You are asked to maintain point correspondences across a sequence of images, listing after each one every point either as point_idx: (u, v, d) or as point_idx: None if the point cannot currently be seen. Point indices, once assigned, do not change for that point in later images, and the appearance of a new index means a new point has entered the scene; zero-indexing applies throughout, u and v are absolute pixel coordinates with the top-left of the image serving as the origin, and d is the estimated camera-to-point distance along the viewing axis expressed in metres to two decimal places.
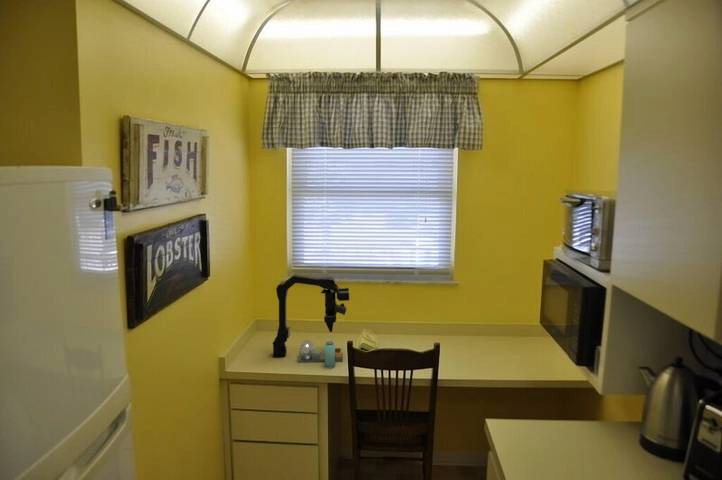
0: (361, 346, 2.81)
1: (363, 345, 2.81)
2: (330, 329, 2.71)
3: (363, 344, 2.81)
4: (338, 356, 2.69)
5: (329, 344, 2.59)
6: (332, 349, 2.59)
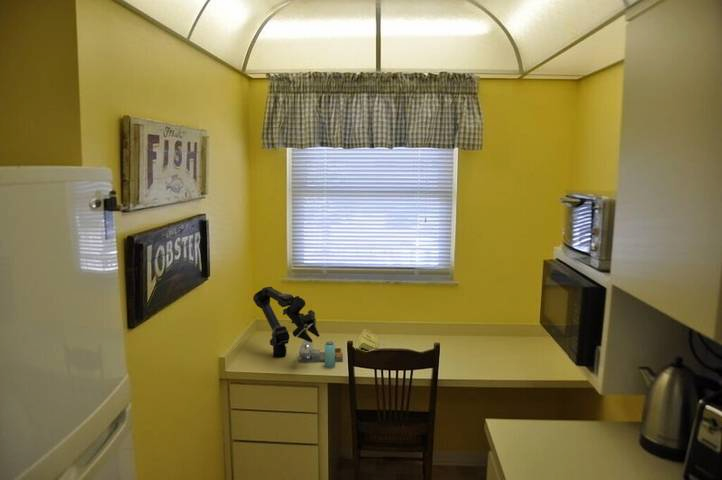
0: (361, 346, 2.81)
1: (363, 345, 2.81)
2: (309, 340, 2.58)
3: (363, 344, 2.81)
4: (338, 356, 2.69)
5: (329, 344, 2.59)
6: (332, 349, 2.59)
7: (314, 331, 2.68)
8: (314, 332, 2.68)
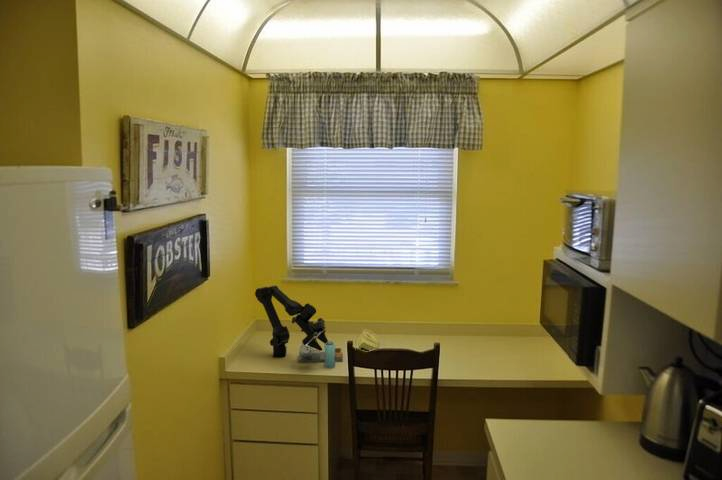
0: (361, 346, 2.82)
1: (363, 345, 2.81)
2: (319, 348, 2.57)
3: (363, 344, 2.81)
4: (338, 356, 2.69)
5: (329, 344, 2.59)
6: (332, 349, 2.59)
7: (324, 339, 2.66)
8: (324, 340, 2.66)
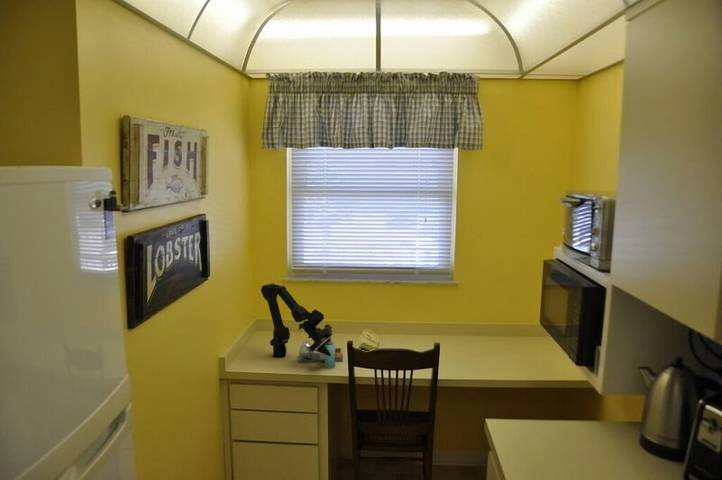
0: (361, 346, 2.82)
1: (363, 345, 2.82)
2: (327, 353, 2.58)
3: (363, 344, 2.82)
4: (338, 356, 2.69)
5: (329, 344, 2.59)
6: (332, 349, 2.59)
7: None
8: None
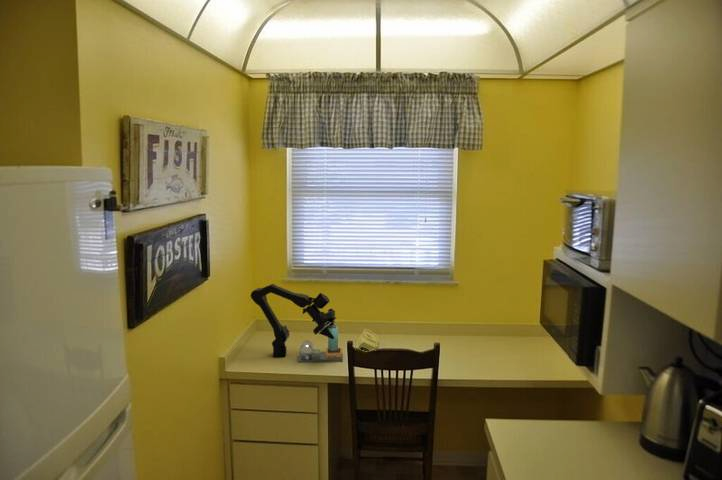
0: (361, 345, 2.82)
1: (363, 344, 2.82)
2: (330, 336, 2.66)
3: (363, 343, 2.82)
4: (338, 356, 2.69)
5: (332, 327, 2.67)
6: (335, 332, 2.67)
7: None
8: None
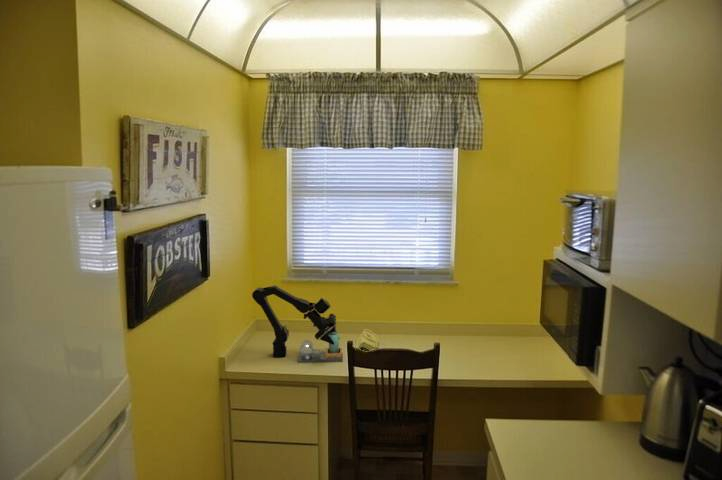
0: (361, 345, 2.82)
1: (363, 344, 2.82)
2: (331, 342, 2.68)
3: (363, 343, 2.82)
4: (338, 356, 2.69)
5: (333, 334, 2.70)
6: (336, 339, 2.70)
7: None
8: None
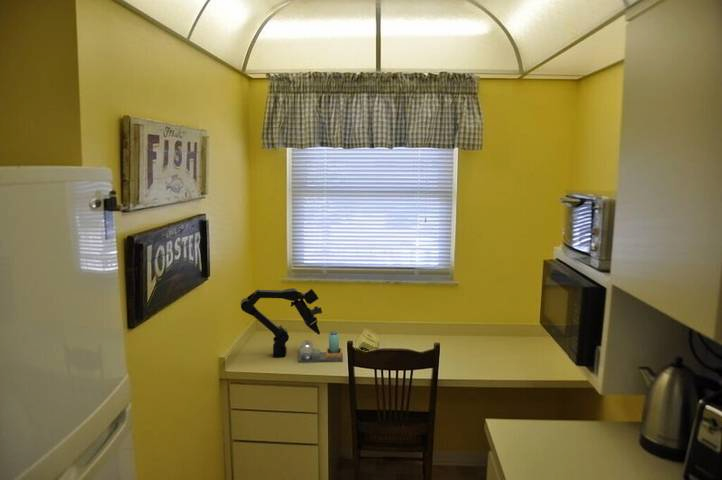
0: (361, 345, 2.83)
1: (363, 344, 2.83)
2: (317, 331, 2.72)
3: (363, 343, 2.82)
4: (338, 356, 2.69)
5: (333, 334, 2.70)
6: (336, 339, 2.70)
7: None
8: None
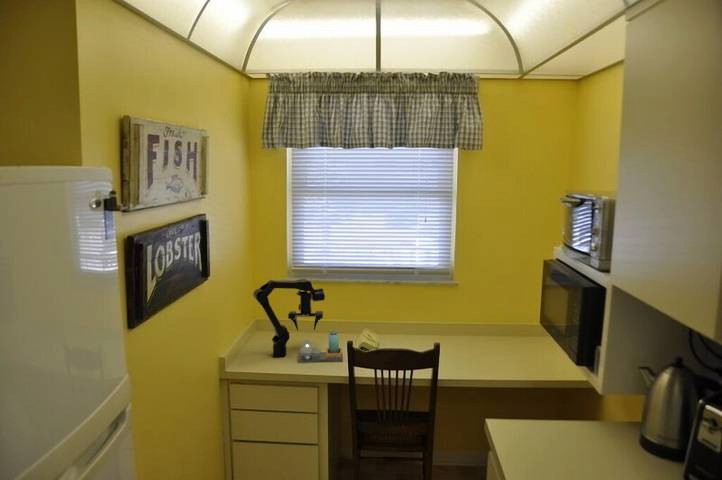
0: (361, 345, 2.83)
1: (363, 344, 2.83)
2: (315, 327, 2.82)
3: (363, 343, 2.83)
4: (338, 356, 2.69)
5: (333, 334, 2.70)
6: (336, 339, 2.70)
7: (297, 324, 2.82)
8: (297, 325, 2.81)
